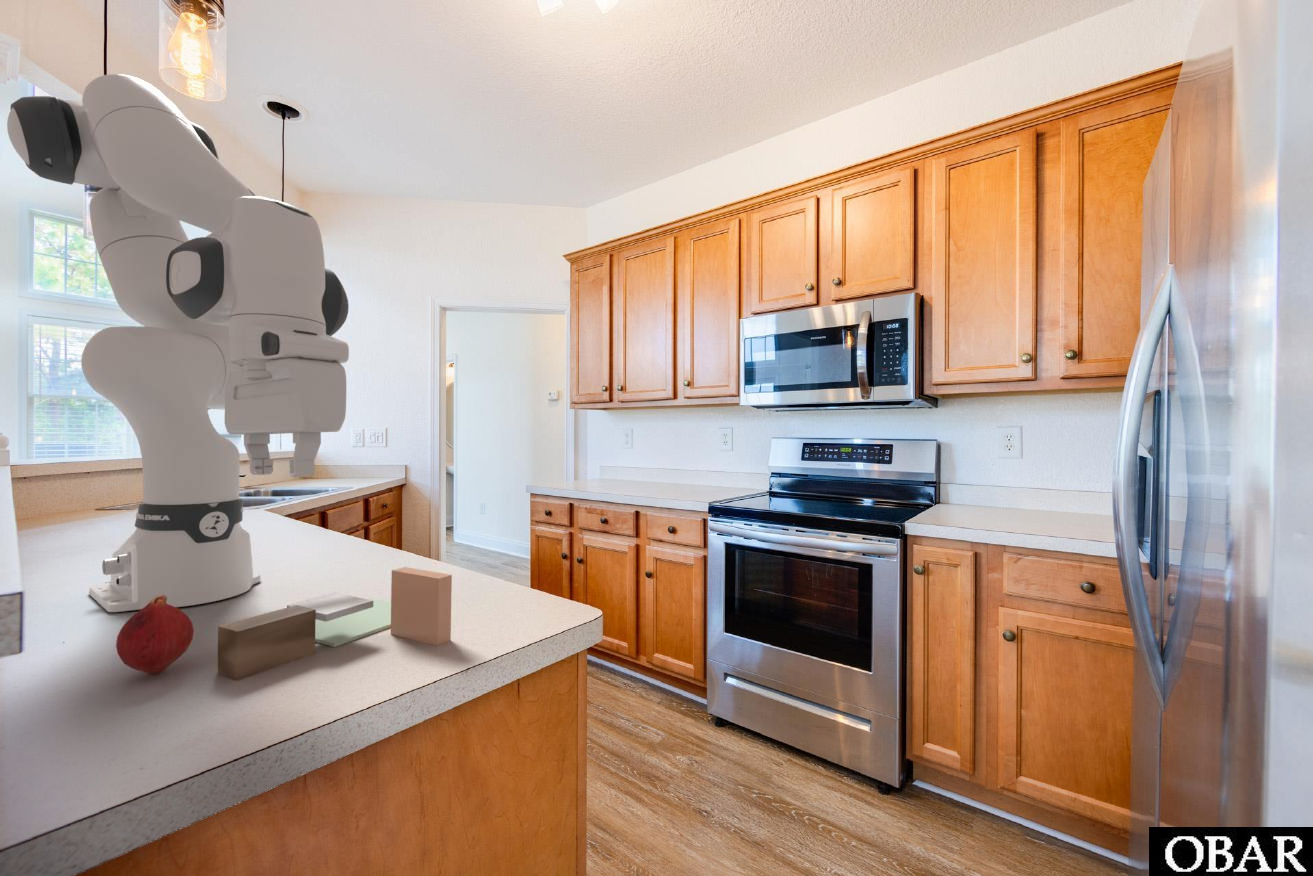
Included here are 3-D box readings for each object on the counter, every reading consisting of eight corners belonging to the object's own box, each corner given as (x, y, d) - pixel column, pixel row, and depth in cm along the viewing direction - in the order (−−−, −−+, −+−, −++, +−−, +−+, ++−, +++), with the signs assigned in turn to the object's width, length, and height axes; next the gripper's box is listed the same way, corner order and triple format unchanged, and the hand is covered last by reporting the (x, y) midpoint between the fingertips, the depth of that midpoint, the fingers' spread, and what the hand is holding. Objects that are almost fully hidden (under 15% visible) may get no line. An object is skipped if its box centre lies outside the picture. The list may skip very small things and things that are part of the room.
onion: (146, 690, 53) (147, 606, 53) (99, 683, 55) (100, 602, 54) (206, 665, 59) (207, 590, 59) (163, 660, 60) (164, 586, 60)
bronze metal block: (207, 671, 58) (208, 623, 58) (335, 629, 71) (335, 590, 71) (247, 685, 55) (248, 634, 55) (372, 639, 68) (373, 598, 68)
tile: (390, 634, 69) (391, 570, 69) (404, 629, 71) (405, 566, 71) (437, 646, 66) (438, 578, 66) (451, 640, 68) (452, 574, 68)
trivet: (271, 629, 70) (271, 626, 70) (371, 600, 82) (371, 597, 82) (334, 647, 65) (334, 643, 65) (430, 613, 77) (430, 610, 77)
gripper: (206, 354, 64) (208, 474, 64) (291, 334, 53) (293, 480, 53) (268, 360, 69) (270, 471, 69) (358, 343, 58) (359, 476, 58)
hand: (281, 475), depth 61 cm, fingers open, 8 cm apart
